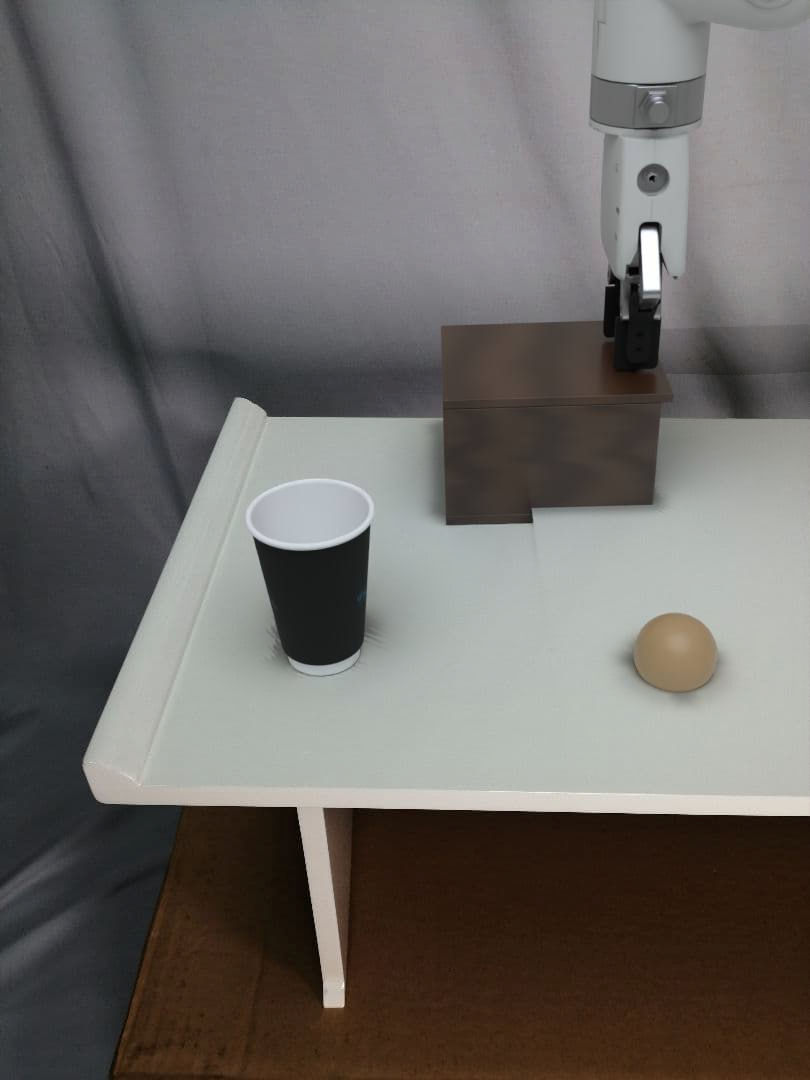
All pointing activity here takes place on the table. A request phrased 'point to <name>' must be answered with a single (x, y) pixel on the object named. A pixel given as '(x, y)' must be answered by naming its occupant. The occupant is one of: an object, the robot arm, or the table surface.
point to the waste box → (547, 459)
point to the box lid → (541, 367)
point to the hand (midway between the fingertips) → (629, 348)
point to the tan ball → (675, 652)
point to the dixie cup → (315, 568)
